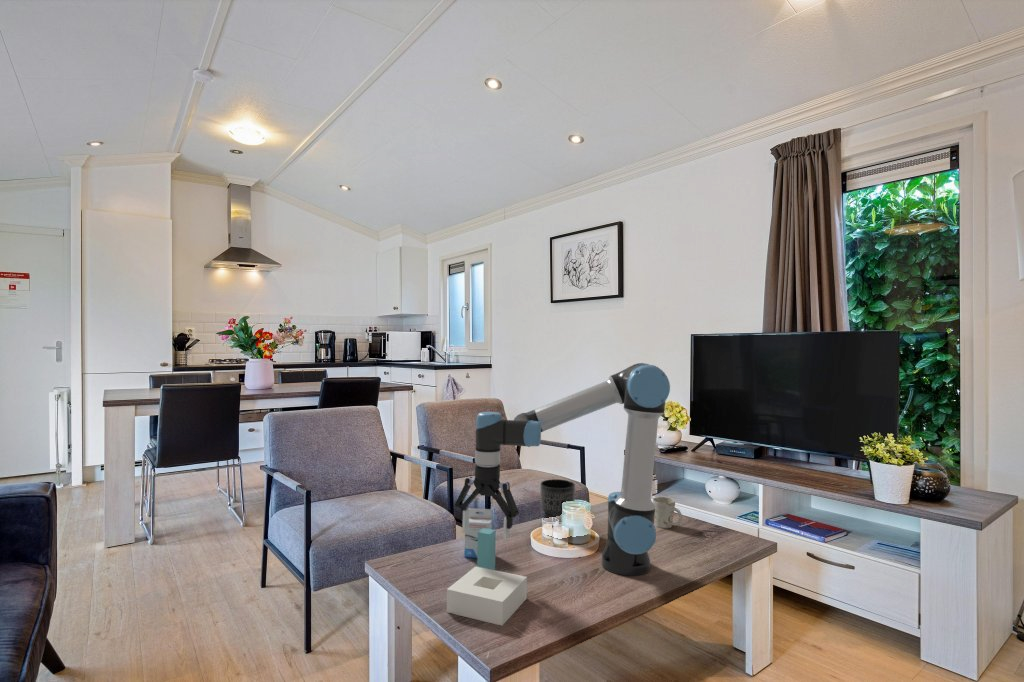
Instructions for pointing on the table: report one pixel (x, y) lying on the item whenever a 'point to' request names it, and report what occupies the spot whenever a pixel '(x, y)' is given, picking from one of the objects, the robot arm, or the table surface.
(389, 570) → the table surface
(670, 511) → the mug
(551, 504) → the planter
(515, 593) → the socket block
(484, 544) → the post
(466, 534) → the ink box
